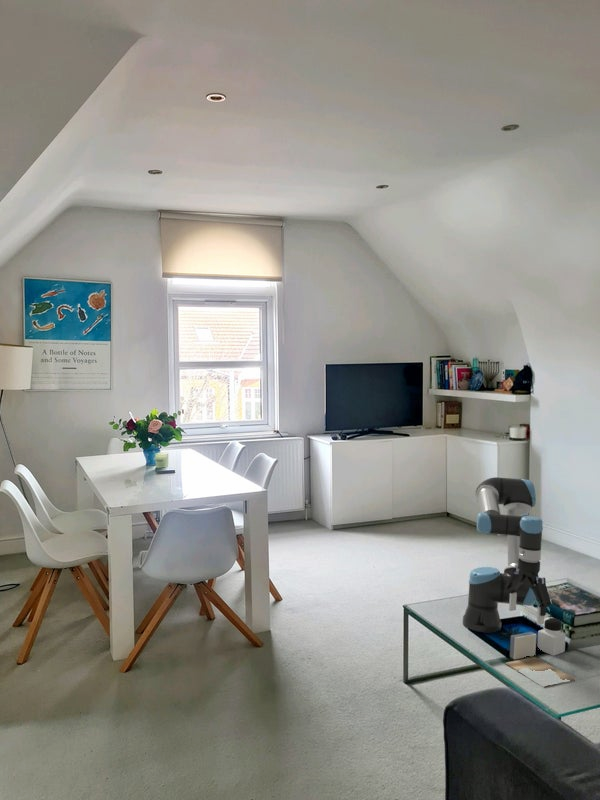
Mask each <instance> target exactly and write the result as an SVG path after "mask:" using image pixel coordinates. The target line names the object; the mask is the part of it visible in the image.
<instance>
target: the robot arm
mask: <svg viewBox="0 0 600 800" xmlns="http://www.w3.org/2000/svg"><path fill="white" fill-rule="evenodd" d="M475 499H476V501H477V502H478V504H479V510H480V512H479V513H478V514H477V515H476V516H477V517H476V531H477V532H478V533H482V534H487V535H488V534H489V535H491V534H492V535H501V536H502V535H503V536H507V566H506V567H504V570H503V573H502V572H500V570H499V569H498V568H496V567H492V566H491V567H490V566H482V567H476V568H474V569H472V570H471V571H470V573H469V579H468V584H469V585H468V597H467V598H468V599H467V606H466V609H465V613H464V615H463V617H462V625H463V626H464V627H465V628H467V629H469V630H472V631H474V632H478V633H489V634H491V633H497V632H499V631H501V629H502V621H501V617H500V614H499V611H498V610H499V609H498V604H499V603H501V604H508V611H509V612H512V611H516V610H517V606H522V607H523V606H526V607H527V606H530V607H531V606H533V605H534V604H535V603H536V601H537V602H538V604H539V605H537V611H536V612H537V614H536V625H544V619H545V617H546V614H547V608H548V607H549V608H550V607H552V602H551V599H550V598H551V597H550V595H549V591H548V588H547V585H546V583H547V582H546V581H547V580H546V577H539V572H540V570H541V562H540V561H541V560H542V559H541V556H542V554H541V553H542V539H543V529H544V527H543V519H542V518H540V517H538V516H532V515H529V513H531V512H532V511H533V508H534V507H536V503H537V501H536V500H537V499H536V489H535V484H533V481H532V480H530V479H523V478H511V477H510V478H509V477H496V476H495V477H490V478H487V479H485V480H483V481H482V482H481V483H479V484H478V486H477V487H476V490H475ZM500 505H502V506H503V511H505V512H506V514H501V510H500ZM498 630H499V631H498ZM496 631H497V632H496Z"/></svg>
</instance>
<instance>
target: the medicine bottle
mask: <svg viewBox="0 0 600 800" xmlns="http://www.w3.org/2000/svg"><path fill="white" fill-rule="evenodd" d="M561 630H562V621H561V620H560V619H558V618H556V617H544V624H543V629H540V630H538V632H537V643H536V645H537V646H536V648H537V647H538V648H539V649H540V651H541V650H542V651H541V652H544V653H546V654H547V655H551V656H553V657H554V656H557V655H560V654H562V653H563V654H564V652H565V650H566V638H567V637H566V635H567V634H566V632H562V631H561ZM539 649H538V650H539Z"/></svg>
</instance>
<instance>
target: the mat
mask: <svg viewBox="0 0 600 800" xmlns="http://www.w3.org/2000/svg"><path fill="white" fill-rule="evenodd" d="M504 665H505V666H507V667H510V668H511V669H512V670H514V671H515V670H517V671H519V670H520V669H522V668H528V669H530V670H532V671H533V670H535V671H545V670H548V669H551V670H552V671H554V672H556V674H557V675H558V676H559V677H560V679H562V680H565V679H567V680H570V681H571V682H574V681H575V680H576V678H573V677H572V676H569V675H568V674H567V673H564V672H563V671H561V670H559V669H557V668H555V667H553V666H552V665H550V664H549V663H546V662H544V661H543V660H541V659H539V657H536V656H531V657H526V658H521V659H516V660H513V661H508V662H505V663H504ZM517 671H516V672H517Z"/></svg>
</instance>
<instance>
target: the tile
mask: <svg viewBox="0 0 600 800" xmlns="http://www.w3.org/2000/svg"><path fill="white" fill-rule="evenodd" d="M536 645H537V633H534V632H533V631H529V632H523V633H517V634H512V635H510V647H509V658H511V659H513V661H516V660H521V659H525V658H527V657H526V656H530V657H535V656H536V648H537V646H536ZM534 655H535V656H534ZM524 657H525V658H524Z"/></svg>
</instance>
